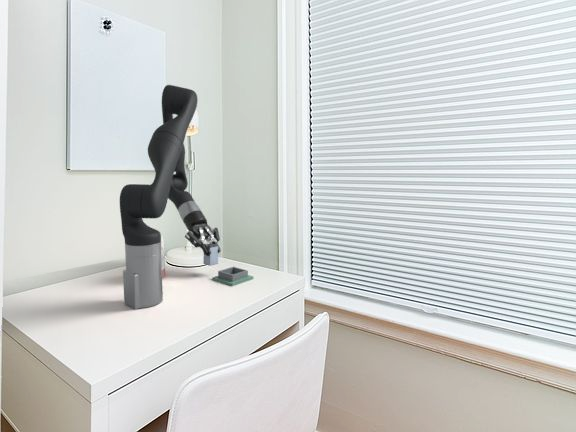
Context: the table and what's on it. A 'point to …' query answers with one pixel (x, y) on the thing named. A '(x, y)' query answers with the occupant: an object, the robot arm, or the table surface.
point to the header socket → (232, 276)
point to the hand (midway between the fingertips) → (214, 253)
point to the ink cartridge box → (162, 257)
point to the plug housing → (211, 255)
